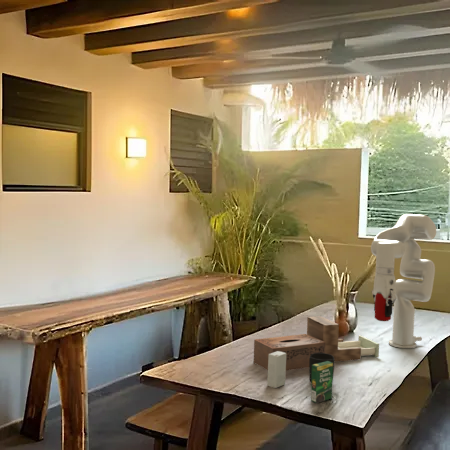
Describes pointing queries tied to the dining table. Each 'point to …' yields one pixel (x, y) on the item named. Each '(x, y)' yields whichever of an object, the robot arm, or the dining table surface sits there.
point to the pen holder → (319, 361)
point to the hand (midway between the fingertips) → (382, 312)
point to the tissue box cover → (288, 350)
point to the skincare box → (276, 369)
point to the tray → (362, 346)
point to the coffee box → (321, 381)
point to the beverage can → (381, 308)
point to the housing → (331, 338)
